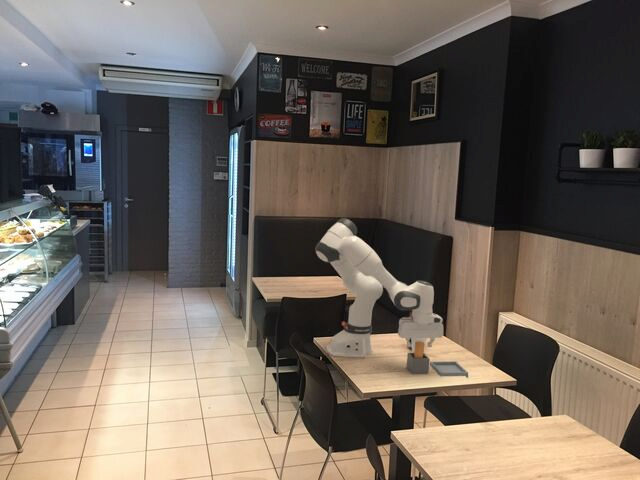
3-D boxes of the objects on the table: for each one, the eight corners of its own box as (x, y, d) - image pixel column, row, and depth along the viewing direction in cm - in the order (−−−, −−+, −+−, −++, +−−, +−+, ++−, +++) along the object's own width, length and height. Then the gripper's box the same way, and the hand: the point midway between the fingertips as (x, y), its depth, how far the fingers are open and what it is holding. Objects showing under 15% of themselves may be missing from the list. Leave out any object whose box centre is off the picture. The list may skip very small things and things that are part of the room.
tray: (440, 378, 235) (440, 372, 234) (429, 366, 247) (429, 361, 247) (467, 377, 237) (468, 372, 237) (455, 366, 250) (456, 361, 249)
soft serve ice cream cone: (420, 361, 253) (423, 329, 251) (405, 356, 258) (408, 325, 256) (428, 356, 260) (431, 325, 258) (413, 352, 265) (416, 321, 263)
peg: (414, 372, 237) (417, 344, 235) (411, 368, 241) (414, 341, 239) (423, 372, 238) (425, 344, 236) (419, 368, 242) (422, 341, 240)
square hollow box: (411, 376, 235) (413, 359, 234) (406, 369, 242) (407, 352, 241) (428, 375, 236) (429, 358, 235) (421, 369, 244) (423, 352, 243)
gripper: (401, 319, 230) (399, 349, 233) (446, 319, 234) (443, 349, 236) (397, 314, 237) (395, 344, 239) (440, 314, 240) (438, 344, 242)
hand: (419, 346), depth 237 cm, fingers open, 8 cm apart
